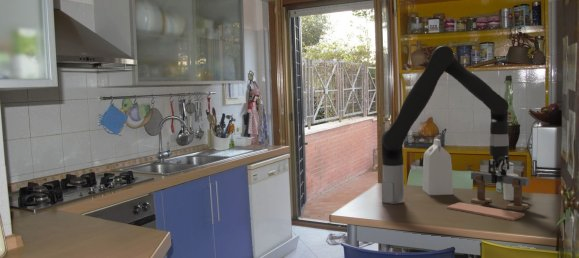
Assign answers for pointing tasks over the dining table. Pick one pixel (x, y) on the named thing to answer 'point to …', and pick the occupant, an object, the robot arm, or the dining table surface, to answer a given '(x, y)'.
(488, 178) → the rail
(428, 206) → the dining table surface
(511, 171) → the syrup box
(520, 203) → the stand right
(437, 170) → the milk
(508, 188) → the cup
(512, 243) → the dining table surface
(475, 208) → the mat
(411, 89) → the robot arm
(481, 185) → the stand left
